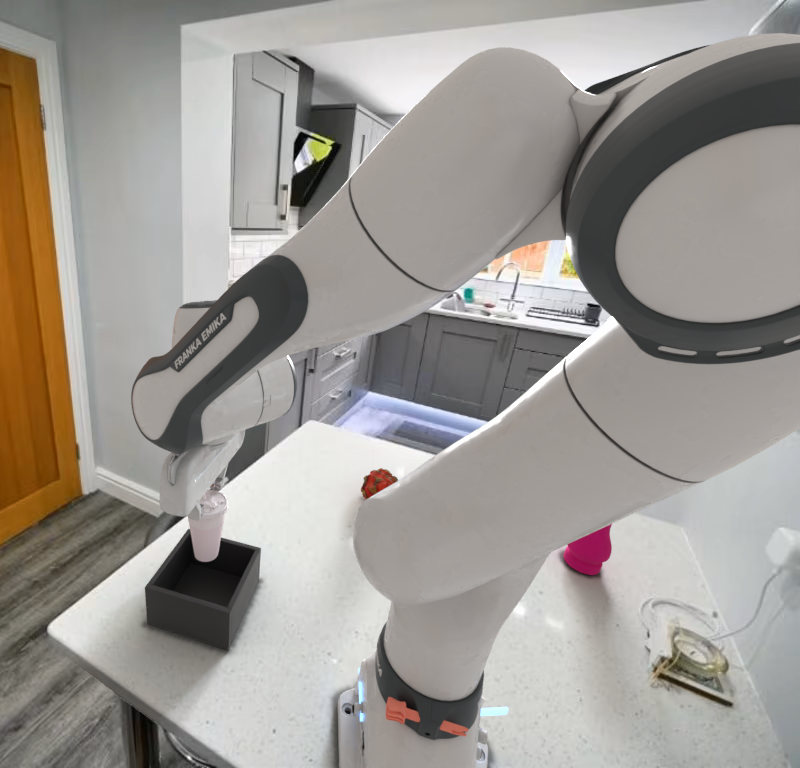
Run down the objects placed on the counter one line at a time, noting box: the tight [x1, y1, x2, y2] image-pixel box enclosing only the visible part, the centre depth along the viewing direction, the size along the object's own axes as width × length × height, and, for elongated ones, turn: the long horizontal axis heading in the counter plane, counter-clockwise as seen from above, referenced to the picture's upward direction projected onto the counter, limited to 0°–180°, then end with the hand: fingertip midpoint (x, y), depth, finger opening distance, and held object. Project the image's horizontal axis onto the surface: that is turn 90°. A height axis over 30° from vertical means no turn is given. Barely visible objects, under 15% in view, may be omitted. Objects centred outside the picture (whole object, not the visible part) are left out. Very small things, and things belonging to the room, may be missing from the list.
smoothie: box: [187, 489, 229, 562], centre depth 65 cm, size 6×6×14 cm
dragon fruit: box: [360, 467, 399, 500], centre depth 98 cm, size 8×8×12 cm
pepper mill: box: [562, 523, 614, 576], centre depth 83 cm, size 7×7×20 cm
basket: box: [144, 528, 262, 651], centre depth 71 cm, size 14×14×8 cm
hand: (207, 501), depth 64 cm, fingers closed on smoothie, 6 cm apart
